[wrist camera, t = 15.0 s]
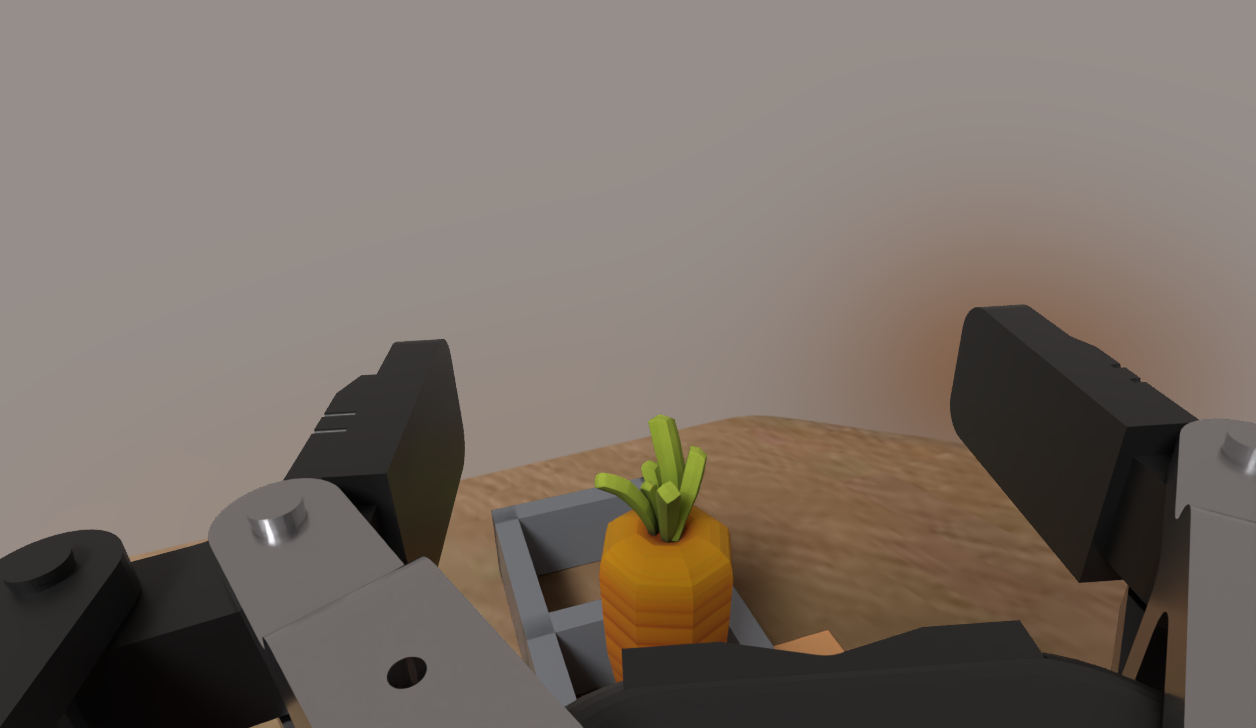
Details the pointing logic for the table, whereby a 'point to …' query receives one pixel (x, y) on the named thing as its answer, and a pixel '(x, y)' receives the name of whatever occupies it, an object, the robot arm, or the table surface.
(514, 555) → the socket block
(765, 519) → the table surface
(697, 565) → the carrot
